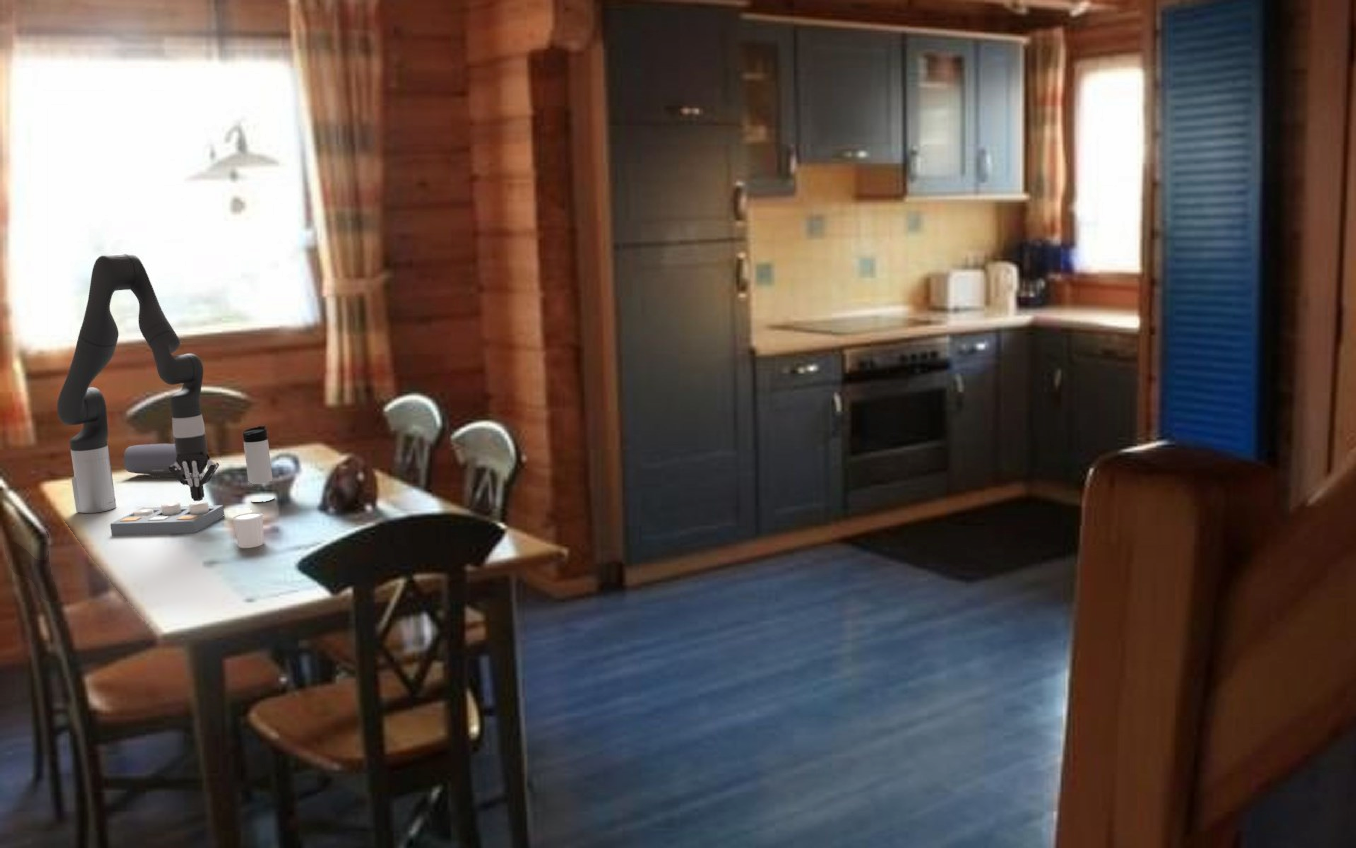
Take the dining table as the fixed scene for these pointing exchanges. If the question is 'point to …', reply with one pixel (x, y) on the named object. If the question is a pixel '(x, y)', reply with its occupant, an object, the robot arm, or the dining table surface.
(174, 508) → the middle button
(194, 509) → the button
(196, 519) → the button board
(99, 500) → the robot arm
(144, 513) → the button
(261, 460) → the travel mug
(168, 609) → the dining table surface
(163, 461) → the bluetooth speaker
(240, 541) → the white cup
